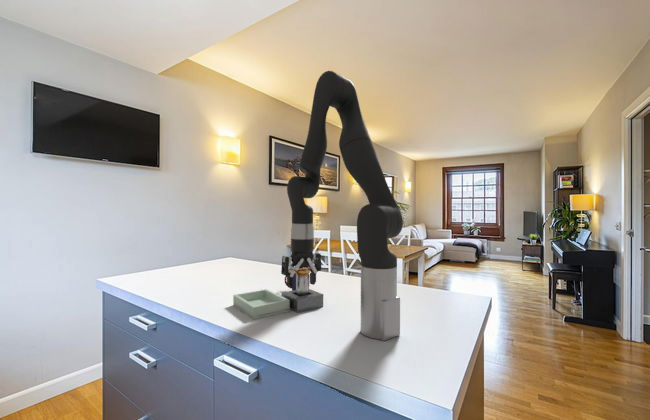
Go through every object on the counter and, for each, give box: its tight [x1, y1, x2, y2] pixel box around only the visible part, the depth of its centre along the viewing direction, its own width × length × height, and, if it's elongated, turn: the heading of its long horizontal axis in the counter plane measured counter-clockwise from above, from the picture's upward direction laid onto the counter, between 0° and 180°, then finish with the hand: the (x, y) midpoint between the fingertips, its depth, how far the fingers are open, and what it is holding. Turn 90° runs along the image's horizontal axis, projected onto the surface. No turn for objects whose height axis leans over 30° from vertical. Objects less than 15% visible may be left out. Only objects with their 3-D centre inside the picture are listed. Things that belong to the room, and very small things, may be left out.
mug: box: [284, 273, 310, 291], centre depth 117 cm, size 7×10×7 cm
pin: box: [295, 268, 311, 297], centre depth 99 cm, size 5×5×12 cm
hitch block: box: [280, 288, 324, 314], centre depth 99 cm, size 10×10×4 cm
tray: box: [232, 288, 291, 320], centre depth 96 cm, size 16×12×3 cm
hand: (301, 286), depth 99 cm, fingers open, 8 cm apart
